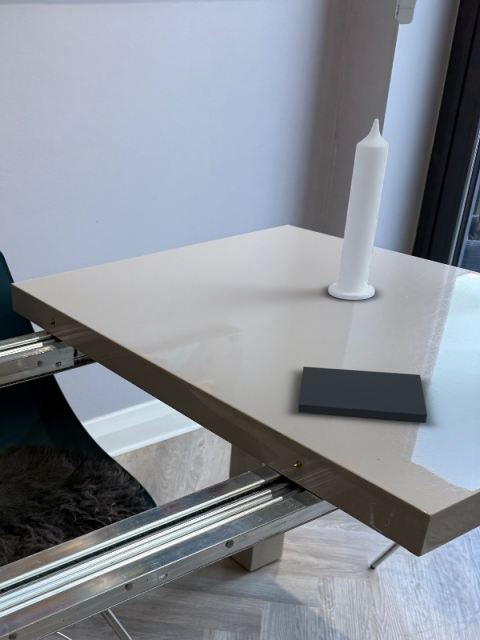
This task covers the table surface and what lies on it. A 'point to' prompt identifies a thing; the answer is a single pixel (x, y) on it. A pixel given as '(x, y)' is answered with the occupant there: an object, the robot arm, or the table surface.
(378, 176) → the candle
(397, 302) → the table surface
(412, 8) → the robot arm
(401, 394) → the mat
